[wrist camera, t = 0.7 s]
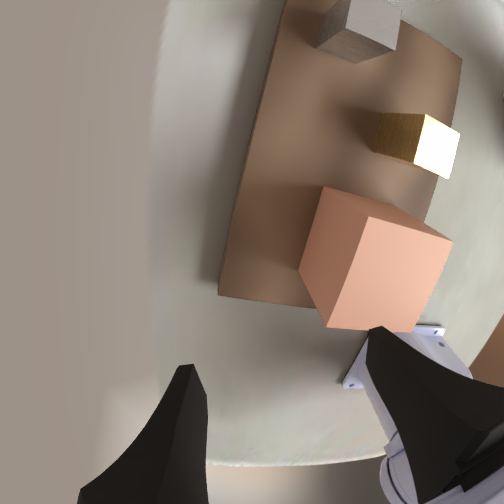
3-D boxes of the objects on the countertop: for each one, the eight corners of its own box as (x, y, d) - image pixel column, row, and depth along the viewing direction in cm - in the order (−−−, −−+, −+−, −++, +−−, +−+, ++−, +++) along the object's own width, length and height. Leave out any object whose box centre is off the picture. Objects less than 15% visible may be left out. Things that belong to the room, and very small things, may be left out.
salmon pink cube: (397, 207, 18) (453, 241, 13) (369, 281, 20) (411, 332, 15) (323, 185, 17) (368, 216, 12) (298, 270, 19) (325, 327, 14)
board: (449, 60, 15) (462, 59, 14) (376, 305, 23) (384, 315, 22) (289, -15, 13) (294, -24, 12) (217, 283, 21) (217, 295, 19)
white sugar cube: (363, 29, 13) (401, 9, 9) (356, 64, 14) (395, 50, 10) (323, 13, 13) (354, -14, 9) (315, 49, 14) (345, 27, 10)
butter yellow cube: (414, 127, 16) (459, 134, 12) (404, 164, 17) (448, 178, 13) (382, 113, 16) (425, 114, 11) (372, 151, 17) (413, 162, 12)
